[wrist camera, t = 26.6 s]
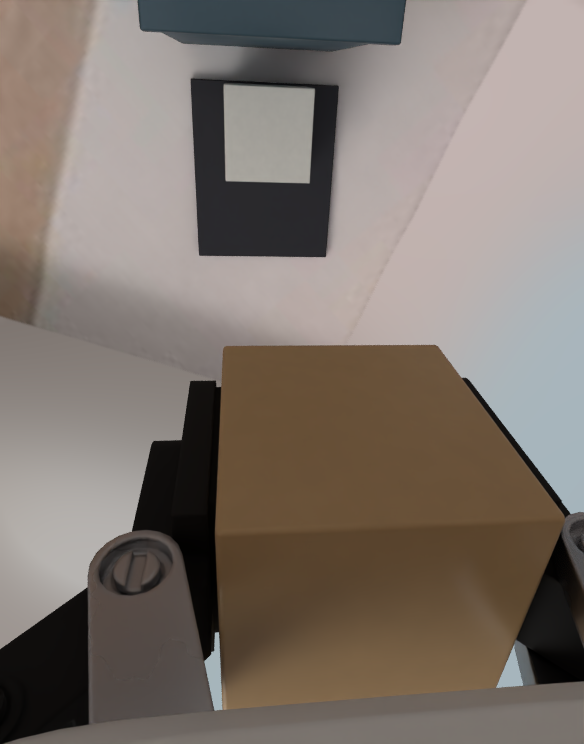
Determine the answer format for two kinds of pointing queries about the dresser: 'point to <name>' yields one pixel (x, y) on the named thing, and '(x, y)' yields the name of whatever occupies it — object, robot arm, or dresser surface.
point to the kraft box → (367, 527)
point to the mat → (260, 186)
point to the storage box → (276, 22)
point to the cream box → (268, 132)
